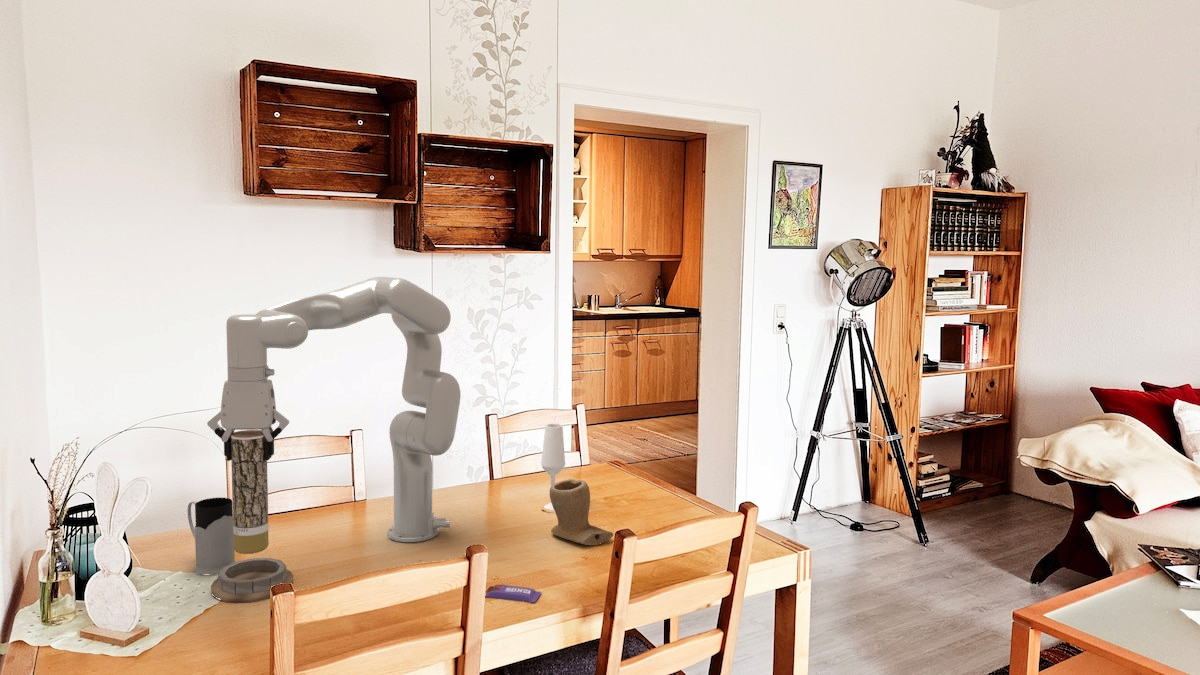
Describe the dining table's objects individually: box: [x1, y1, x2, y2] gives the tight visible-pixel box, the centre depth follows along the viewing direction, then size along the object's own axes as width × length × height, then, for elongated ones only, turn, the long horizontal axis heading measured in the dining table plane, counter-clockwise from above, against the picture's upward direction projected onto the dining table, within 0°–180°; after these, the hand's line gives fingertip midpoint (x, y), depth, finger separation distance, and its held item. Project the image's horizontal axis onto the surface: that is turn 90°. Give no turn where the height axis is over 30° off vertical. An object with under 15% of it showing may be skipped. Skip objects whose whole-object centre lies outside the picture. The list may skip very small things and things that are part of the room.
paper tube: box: [230, 429, 270, 555], centre depth 169 cm, size 7×7×25 cm
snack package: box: [485, 584, 542, 603], centre depth 170 cm, size 12×2×5 cm
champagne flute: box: [540, 423, 566, 510], centre depth 225 cm, size 7×7×24 cm
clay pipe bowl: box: [549, 478, 614, 546], centre depth 203 cm, size 15×12×15 cm
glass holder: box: [187, 497, 237, 575], centre depth 181 cm, size 9×14×15 cm, turn 58°
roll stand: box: [210, 557, 294, 604], centre depth 171 cm, size 16×16×4 cm
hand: (249, 458), depth 168 cm, fingers closed on paper tube, 6 cm apart
